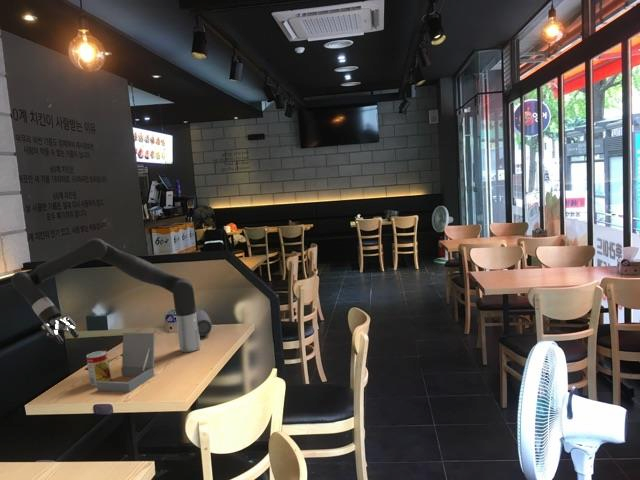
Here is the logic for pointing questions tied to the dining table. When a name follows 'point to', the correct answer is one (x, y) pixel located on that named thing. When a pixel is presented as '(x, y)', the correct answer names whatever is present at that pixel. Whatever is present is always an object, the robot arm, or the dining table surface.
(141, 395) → the dining table surface
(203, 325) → the bluetooth speaker
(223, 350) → the dining table surface
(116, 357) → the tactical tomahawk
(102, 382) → the case
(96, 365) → the canned food
